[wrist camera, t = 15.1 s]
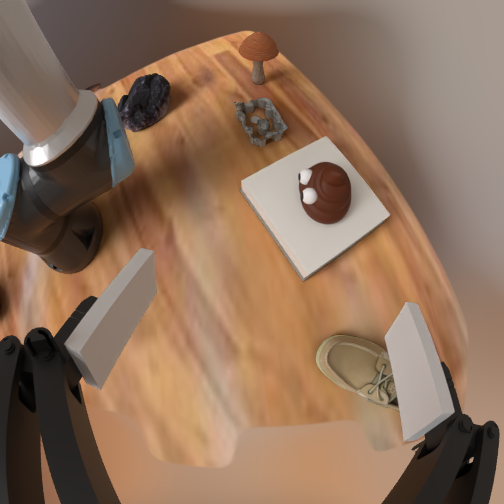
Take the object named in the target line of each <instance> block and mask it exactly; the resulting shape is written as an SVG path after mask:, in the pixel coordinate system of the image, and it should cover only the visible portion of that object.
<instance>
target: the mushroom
mask: <svg viewBox="0 0 504 504" xmlns="http://www.w3.org/2000/svg"><path fill="white" fill-rule="evenodd" d="M239 53H240V55H241V56H243V57H244V58H246V59H249V60H253V65H254V66H253V73H252V81H253V82H254V83H255V84H258V85H260V84H262V83H263V82H264V79H265V75H264V70H263V61H268V60H271V59H273V58H275V57H276V56H277V55H278V54H279V50H278V48H277V46H276V44H275V42H274V41H273V39H272V38H271V37H270V36H268V35H267V34H265V33H263V32H255V33H253V34H251V35H250V36H248V37H247V38H246V39H245V40H244V41H243V43H242V44H241V46H240V48H239Z"/></svg>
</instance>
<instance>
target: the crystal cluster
mask: <svg viewBox="0 0 504 504" xmlns="http://www.w3.org/2000/svg"><path fill="white" fill-rule="evenodd" d="M169 91H170V83H169V82H168V81H167V80H166V79H165V78H164V77H163V76H161V75H158V74H157V73H154V74H152V75H150V74H149V75H145V76H143V77H142V76H141V77H139V78H137V79H136V80H135V82H134V84H133V85H132V87H131V90H130V91H129V94H128V95H123V96H122V97H121V99H120V102H119V104H118V108H117V109H118V111H119V114H120V117H121V120H122V123H123V126H124V128H126V129H129V130H132V132H135V131H138V130H141V129H143V128H146V127H147V126H150V125H152V124H154V123H155V122H157V121H158V120H159V119H160V118H162V117H163V116H165V115H166V113H167V110H168V107H169V102H170V93H169Z"/></svg>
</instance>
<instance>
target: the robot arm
mask: <svg viewBox="0 0 504 504" xmlns="http://www.w3.org/2000/svg"><path fill="white" fill-rule="evenodd" d="M0 119H1V120H2V121H3V122H4V123H5V124H6V125H7V126H8V127H9V128H10V129H11V131H12V132H13V133H14V134H15V135H16V136H17V137H18V138H19V139H20V140H21V141H22V142H23V143H24V147H23V157H22V158H18V156H17V155H16V154H12V153H11V154H9V153H8V154H5V155H3V157H1V158H0V241H2V242H4V243H7V244H10V245H12V246H15V247H18V248H21V249H23V250H26V251H29V252H32V253H35V254H37V255H38V256H39V257H40V258H41V259H42V260H43V261H44V262H45V263H46V264H47V265H48V266H49V267H50V268H52V269H53V270H55V271H57V272H61V273H64V274H72V273H76V272H78V271H80V270H82V269H83V268H84V267H86V266H87V265H88V264H89V263H90V261H91V260H92V259H93V257H94V256H95V254H96V252H97V250H98V247H99V245H100V241H101V237H102V219H101V215H100V213H99V211H98V209H97V208H96V206H95V205H94V204H93V203H91V202H90V201H91V200H92V199H94V198H96V197H97V196H99V195H101V194H102V193H104V192H106V191H108V190H109V189H111V188H114V187H115V186H116V185H117V184H118V183H120V182H121V181H123V180H124V179H126V178H127V177H129V176H130V175H131V174H132V172H133V171H134V167H135V162H134V158H133V154H132V151H131V148H130V144H129V141H128V138H127V135H126V132H125V129H124V126H123V123H122V120H121V117H120V114H119V111H118V109H117V106H116V103H115V102H114V100H113V98H107V99H103V100H102V101H101V102H99V100H98V99H97V97H96V95H95V94H94V93H93V92H92V91H89V90H76V88H75V87H74V85H73V83H72V82H71V80H70V79H69V77H68V75H67V74H66V72H65V71H64V69H63V67H62V66H61V64H60V63H59V61H58V59H57V57H56V56H55V54H54V52H53V51H52V49H51V47H50V46H49V44H48V42H47V41H46V39H45V37H44V35H43V33H42V32H41V30H40V28H39V26H38V24H37V23H36V21H35V19H34V17H33V15H32V14H31V11H30V9H29V8H28V6H27V4H26V2H25V0H0ZM156 294H157V284H156V272H155V258H154V251H153V250H148V249H144V248H140V249H139V251H138V252H137V253H136V254H135V255H134V256H133V257H132V258H131V260H130V261H129V262H128V263H127V264H126V265H125V267H124V268H123V269H122V270H121V271H120V272H119V274H118V275H117V276H116V277H115V278H114V280H113V281H112V282H111V283H110V284H109V286H108V287H107V288H106V289H105V291H104V292H103V293H102V294H101V296H100V297H99V298H96V297H94V296H90V297H88V298H87V299H85V300H84V301H82V302H81V303H80V305H79V306H78V307H77V308H76V311H74V312H73V313H72V315H71V317H69V318H68V320H67V321H66V322H65V323H64V325H63V326H62V327H61V329H60V330H59V331H58V333H57V334H56V335H55V337H54V338H53V336H52V334H51V332H50V331H49V330H48V329H46V328H43V327H39V328H35V329H32V330H31V331H30V332H29V333H28V334H27V335H26V337H25V340H24V344H25V345H22V344H21V342H20V340H19V339H18V338H17V337H16V336H13V335H11V336H7V337H5V338H3V339H2V340H1V341H0V504H45V501H44V493H43V485H42V474H41V473H42V472H41V452H40V435H41V437H42V442H43V446H44V450H45V455H46V459H47V462H48V466H49V470H50V473H51V476H52V479H53V483H54V485H55V489H56V492H57V494H58V497H59V500H60V502H61V504H121V503H120V501H119V499H118V496H117V494H116V492H115V490H114V488H113V486H112V483H111V481H110V479H109V476H108V474H107V471H106V469H105V466H104V464H103V461H102V458H101V456H100V453H99V450H98V447H97V444H96V441H95V438H94V435H93V431H92V428H91V425H90V422H89V418H88V414H87V410H86V406H85V402H84V398H83V394H82V389H81V385H80V383H79V381H80V379H81V378H82V377H83V378H84V380H85V381H86V383H88V384H90V385H92V386H94V387H96V388H98V389H100V390H101V389H102V387H103V385H104V383H105V381H106V379H107V377H108V376H109V374H110V372H111V370H112V368H113V367H114V365H115V363H116V361H117V359H118V358H119V356H120V354H121V352H122V351H123V349H124V347H125V345H126V344H127V342H128V340H129V338H130V337H131V335H132V333H133V332H134V330H135V328H136V326H137V325H138V323H139V321H140V320H141V318H142V316H143V315H144V313H145V312H146V310H147V308H148V307H149V305H150V303H151V302H152V300H153V299H154V297H155V295H156ZM385 341H386V346H387V350H388V354H389V358H390V363H391V368H392V372H393V377H394V382H395V387H396V393H397V398H398V404H399V410H400V417H401V424H402V431H403V439H404V441H412V440H417V439H419V438H420V437H422V436H423V435H425V440H424V441H422V442H421V443H419V444H417V445H416V446H414V447H413V448H412V450H415V449H416V448H418V447H419V448H418V450H417V451H416V453H415V455H414V457H413V458H412V460H411V462H410V463H409V465H408V466H407V468H406V470H405V471H404V473H403V474H402V476H401V477H400V479H399V480H398V482H397V483H396V485H395V486H394V488H393V489H392V490H391V492H390V493H389V494H388V496H387V497H386V498H385V500H384V501H383V503H382V504H488V503H489V500H490V496H491V492H492V487H493V482H494V475H495V471H496V463H497V456H498V447H499V428H498V426H497V424H496V423H495V422H494V421H488V422H486V423H485V424H484V425H482V426H480V425H476V424H473V422H472V420H471V418H470V417H469V416H468V415H465V414H462V411H461V408H460V404H459V400H458V397H457V393H456V390H455V388H454V384H453V381H452V377H451V374H450V371H449V369H448V368H447V366H446V365H445V363H444V362H440V360H439V357H438V354H437V351H436V349H435V346H434V343H433V341H432V338H431V335H430V333H429V330H428V328H427V325H426V323H425V320H424V318H423V315H422V313H421V311H420V308H419V306H418V304H417V303H411V302H406V303H405V305H404V307H403V308H402V310H401V312H400V313H399V315H398V316H397V318H396V320H395V321H394V323H393V324H392V326H391V328H390V329H389V331H388V332H387V334H386V335H385ZM472 457H474V459H473V462H472V463H470V464H469V460H470V458H472Z"/></svg>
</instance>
